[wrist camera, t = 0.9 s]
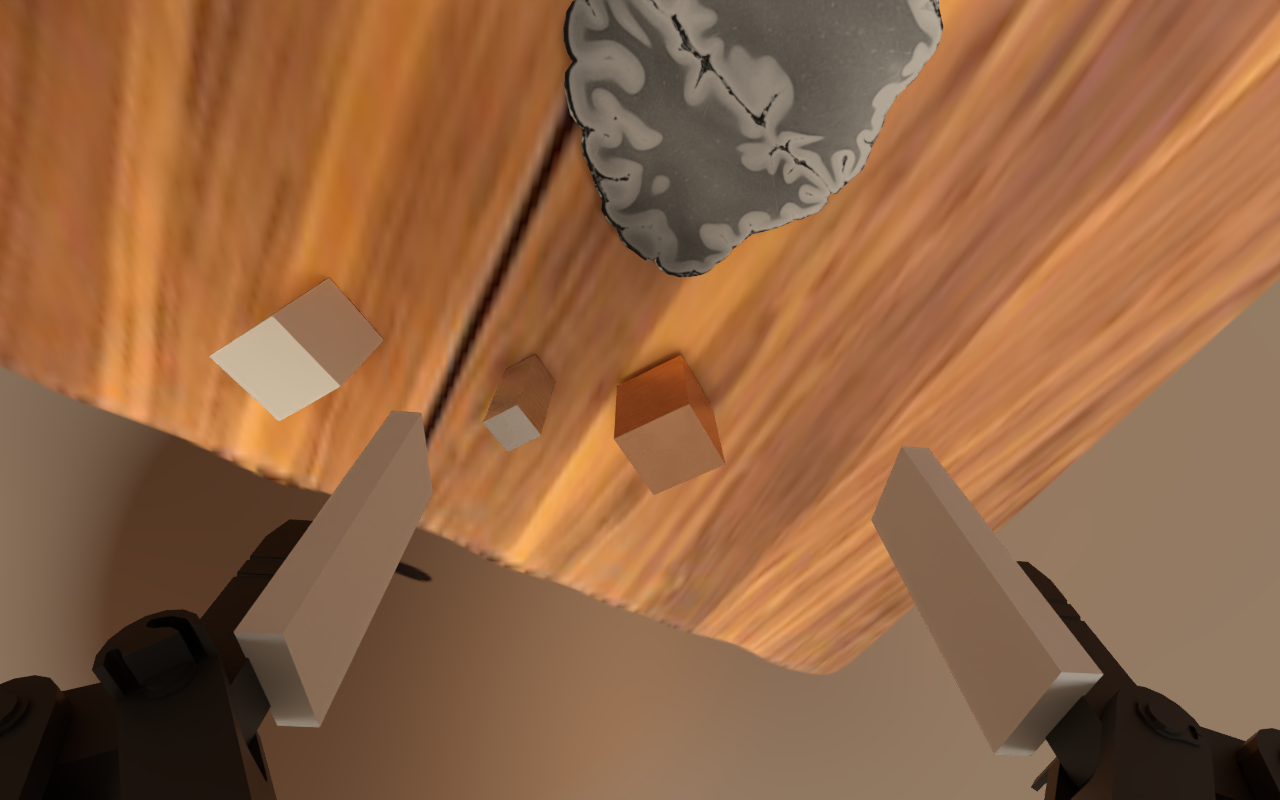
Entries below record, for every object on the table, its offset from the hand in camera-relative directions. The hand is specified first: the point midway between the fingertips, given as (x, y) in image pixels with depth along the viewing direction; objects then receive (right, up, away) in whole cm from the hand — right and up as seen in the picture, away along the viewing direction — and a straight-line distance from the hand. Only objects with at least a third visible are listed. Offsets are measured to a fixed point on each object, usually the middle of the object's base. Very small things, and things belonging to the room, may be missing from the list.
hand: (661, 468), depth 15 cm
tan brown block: (+1, +3, +26) cm, 26 cm away
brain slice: (+4, +20, +16) cm, 26 cm away
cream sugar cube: (-22, +7, +23) cm, 33 cm away
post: (-9, +4, +25) cm, 27 cm away
